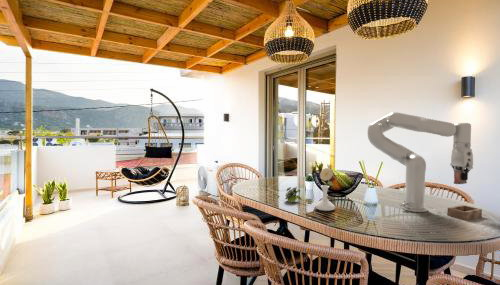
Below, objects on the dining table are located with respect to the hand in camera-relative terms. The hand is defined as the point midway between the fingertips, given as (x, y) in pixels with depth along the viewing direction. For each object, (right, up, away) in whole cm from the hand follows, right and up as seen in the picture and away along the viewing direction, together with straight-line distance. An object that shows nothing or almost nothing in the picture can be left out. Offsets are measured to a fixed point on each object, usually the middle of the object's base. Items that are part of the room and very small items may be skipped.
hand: (460, 178), depth 153 cm
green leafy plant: (-87, -19, +29) cm, 93 cm away
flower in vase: (-71, -20, +9) cm, 74 cm away
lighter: (0, -3, 0) cm, 3 cm away
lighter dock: (0, -19, -3) cm, 20 cm away
